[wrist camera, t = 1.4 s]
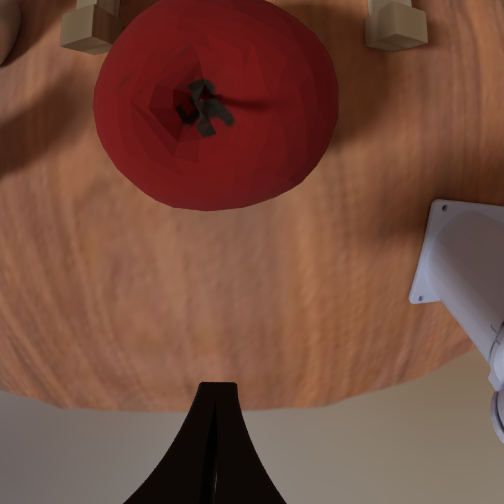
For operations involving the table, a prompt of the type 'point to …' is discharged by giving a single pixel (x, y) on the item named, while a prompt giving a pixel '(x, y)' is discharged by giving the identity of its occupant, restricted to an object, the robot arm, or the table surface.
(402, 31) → the corral
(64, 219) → the table surface
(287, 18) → the apple
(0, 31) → the plastic bottle
